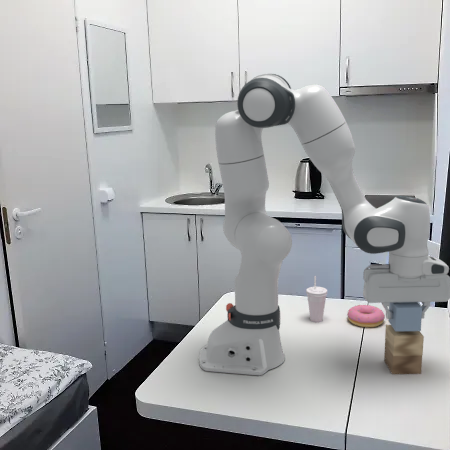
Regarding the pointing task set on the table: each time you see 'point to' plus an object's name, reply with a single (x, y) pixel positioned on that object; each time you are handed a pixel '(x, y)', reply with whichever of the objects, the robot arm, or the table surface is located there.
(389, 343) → the tower top
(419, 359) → the tower base
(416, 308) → the blue block
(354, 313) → the doughnut
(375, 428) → the table surface
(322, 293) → the smoothie
